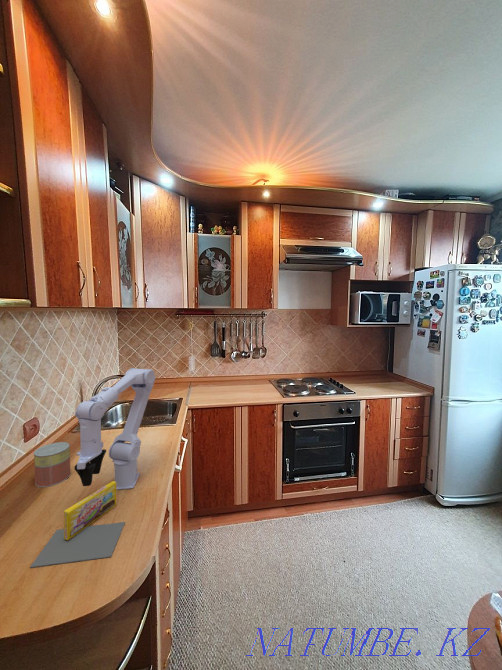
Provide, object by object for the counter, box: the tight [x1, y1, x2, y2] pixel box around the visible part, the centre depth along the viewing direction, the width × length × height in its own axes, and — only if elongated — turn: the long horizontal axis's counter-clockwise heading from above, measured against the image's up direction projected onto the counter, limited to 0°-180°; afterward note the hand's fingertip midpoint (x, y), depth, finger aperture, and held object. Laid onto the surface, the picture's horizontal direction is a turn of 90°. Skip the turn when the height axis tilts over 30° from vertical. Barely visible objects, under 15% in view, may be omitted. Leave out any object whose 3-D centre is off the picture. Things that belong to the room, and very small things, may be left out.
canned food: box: [33, 441, 72, 488], centre depth 104 cm, size 11×11×12 cm
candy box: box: [63, 480, 117, 540], centre depth 82 cm, size 16×2×8 cm, turn 158°
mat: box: [29, 521, 126, 569], centre depth 74 cm, size 12×19×1 cm, turn 99°
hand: (91, 479), depth 86 cm, fingers open, 6 cm apart
